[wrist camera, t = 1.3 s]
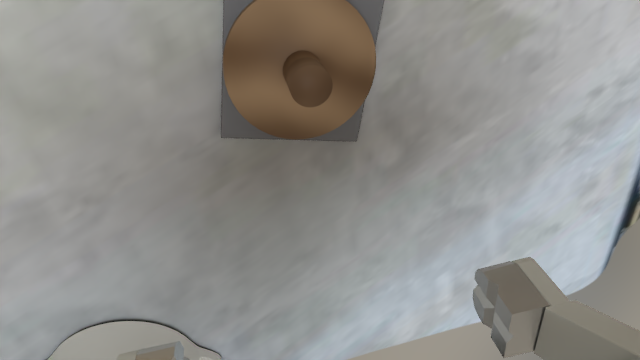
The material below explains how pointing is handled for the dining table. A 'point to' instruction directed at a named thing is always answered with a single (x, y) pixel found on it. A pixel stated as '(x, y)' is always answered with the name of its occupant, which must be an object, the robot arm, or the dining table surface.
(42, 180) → the dining table surface
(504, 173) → the dining table surface
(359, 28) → the lid
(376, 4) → the mat
